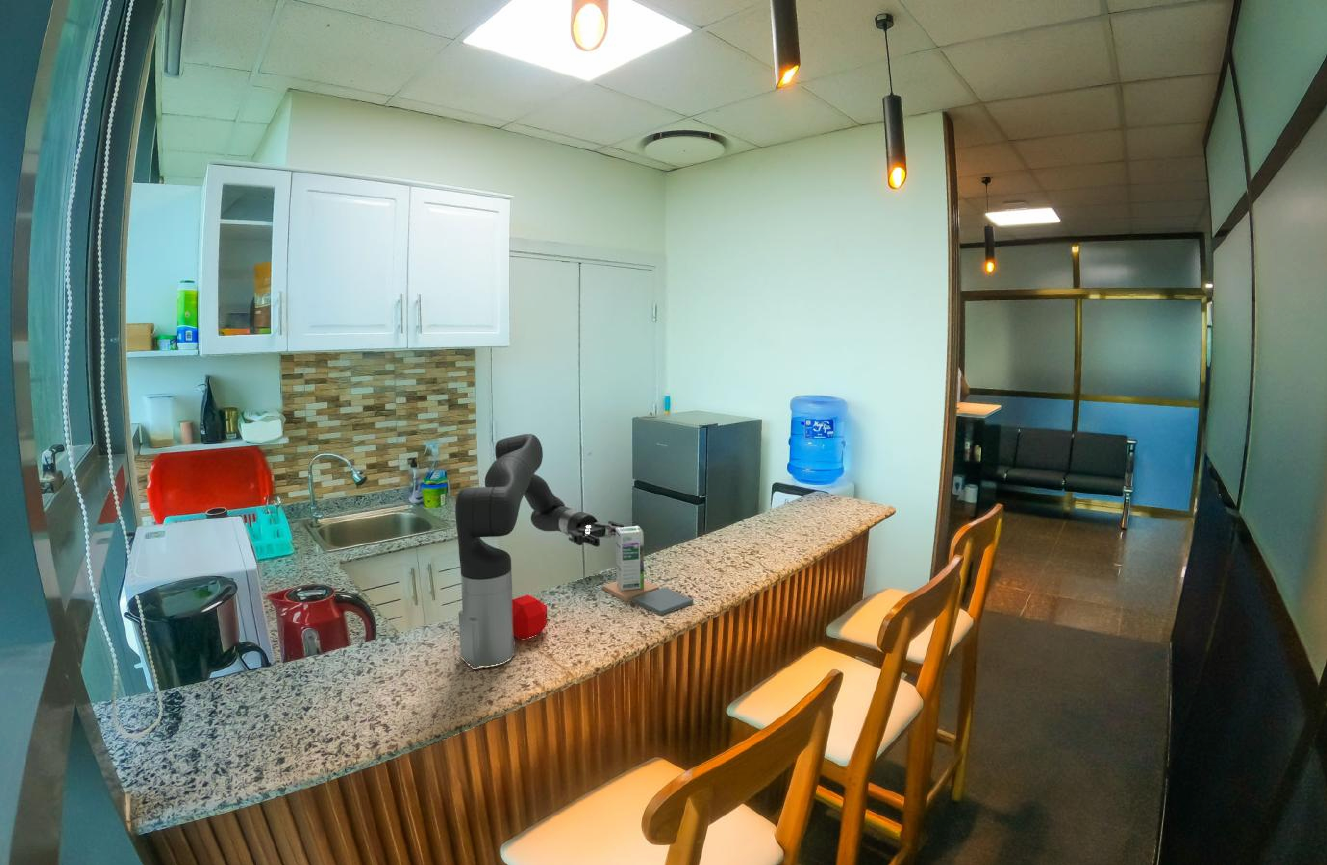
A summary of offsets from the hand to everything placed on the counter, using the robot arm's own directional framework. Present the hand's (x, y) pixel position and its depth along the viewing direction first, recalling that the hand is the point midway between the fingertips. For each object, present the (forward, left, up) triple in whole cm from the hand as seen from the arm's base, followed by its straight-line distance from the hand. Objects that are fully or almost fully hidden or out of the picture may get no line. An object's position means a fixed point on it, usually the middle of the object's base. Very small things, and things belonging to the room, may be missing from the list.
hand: (612, 539), depth 158 cm
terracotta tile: (-1, -8, -11) cm, 13 cm away
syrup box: (-1, -8, -10) cm, 13 cm away
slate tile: (0, -19, -11) cm, 22 cm away
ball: (-32, -12, -11) cm, 36 cm away
